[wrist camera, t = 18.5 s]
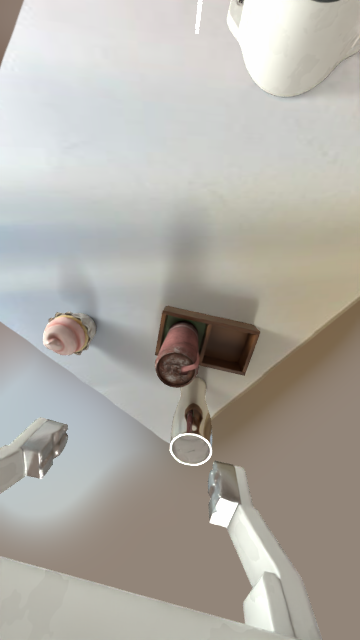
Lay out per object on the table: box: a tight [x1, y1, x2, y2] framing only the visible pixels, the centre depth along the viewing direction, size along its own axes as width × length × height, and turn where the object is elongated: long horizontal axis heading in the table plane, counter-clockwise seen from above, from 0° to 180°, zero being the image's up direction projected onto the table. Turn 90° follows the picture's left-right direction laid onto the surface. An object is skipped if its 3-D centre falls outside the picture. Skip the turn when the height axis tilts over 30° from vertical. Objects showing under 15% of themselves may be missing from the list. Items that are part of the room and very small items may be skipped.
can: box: [155, 320, 200, 388], centre depth 31 cm, size 6×6×14 cm
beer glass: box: [170, 377, 212, 465], centre depth 35 cm, size 7×7×15 cm
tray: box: [155, 306, 260, 376], centre depth 36 cm, size 9×18×4 cm, turn 79°
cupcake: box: [43, 312, 96, 355], centre depth 36 cm, size 9×9×10 cm
